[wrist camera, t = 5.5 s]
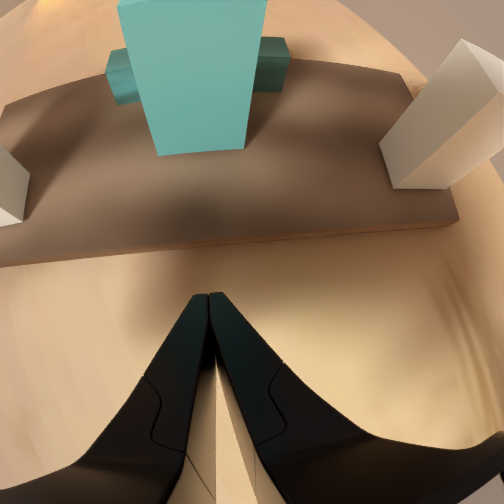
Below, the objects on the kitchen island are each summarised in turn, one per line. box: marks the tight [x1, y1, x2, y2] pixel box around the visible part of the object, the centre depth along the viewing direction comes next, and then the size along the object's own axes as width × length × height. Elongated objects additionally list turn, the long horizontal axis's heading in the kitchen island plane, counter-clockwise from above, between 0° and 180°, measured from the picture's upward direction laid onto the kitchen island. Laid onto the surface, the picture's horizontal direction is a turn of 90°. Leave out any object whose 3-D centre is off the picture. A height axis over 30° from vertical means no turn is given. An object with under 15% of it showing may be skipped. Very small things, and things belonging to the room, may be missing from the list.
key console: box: [0, 37, 459, 267], centre depth 15 cm, size 12×31×4 cm, turn 97°
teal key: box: [117, 0, 267, 156], centre depth 11 cm, size 3×4×9 cm
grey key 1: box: [379, 39, 504, 189], centre depth 12 cm, size 3×4×9 cm
